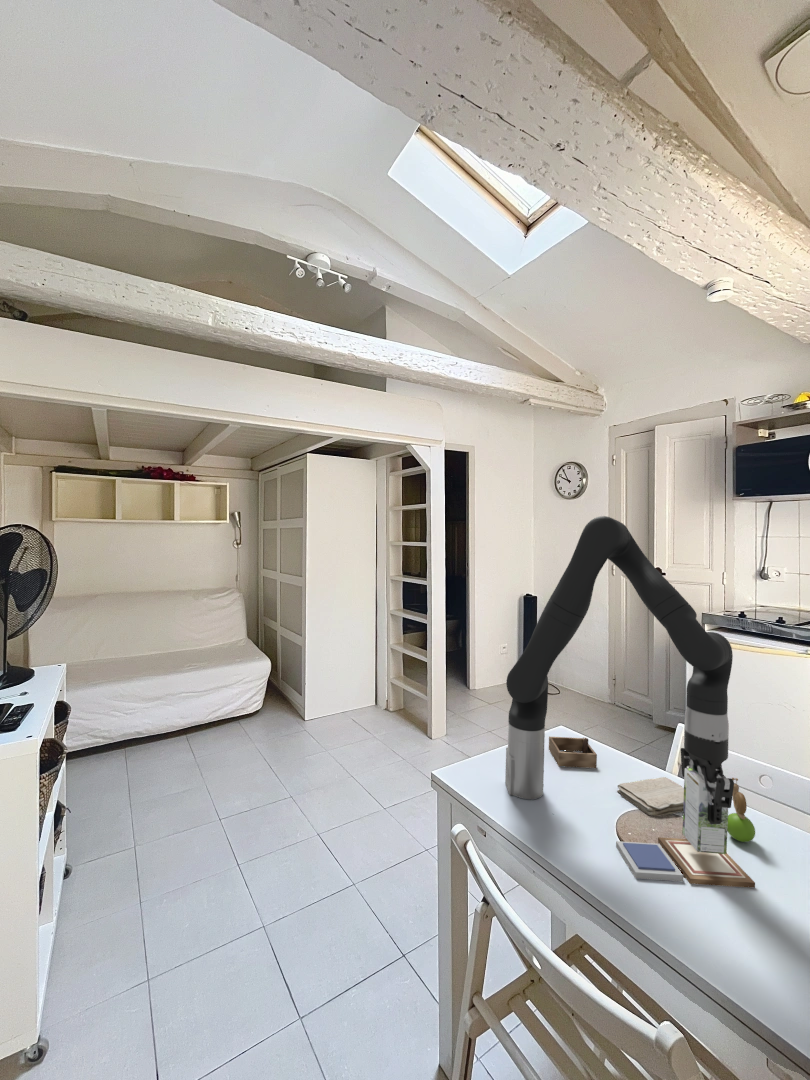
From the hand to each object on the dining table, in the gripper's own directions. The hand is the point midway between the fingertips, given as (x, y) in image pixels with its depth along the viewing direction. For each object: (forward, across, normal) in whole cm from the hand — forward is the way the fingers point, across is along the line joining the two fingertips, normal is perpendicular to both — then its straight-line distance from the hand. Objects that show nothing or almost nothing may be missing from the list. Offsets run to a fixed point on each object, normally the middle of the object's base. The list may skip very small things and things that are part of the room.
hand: (704, 812), depth 92 cm
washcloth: (+11, -23, +3) cm, 26 cm away
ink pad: (+10, +1, -12) cm, 16 cm away
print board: (+10, 0, 0) cm, 10 cm away
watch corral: (+10, -43, -13) cm, 46 cm away
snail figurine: (+11, -9, +13) cm, 19 cm away
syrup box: (+7, 0, 0) cm, 7 cm away
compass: (+11, -42, -13) cm, 45 cm away
